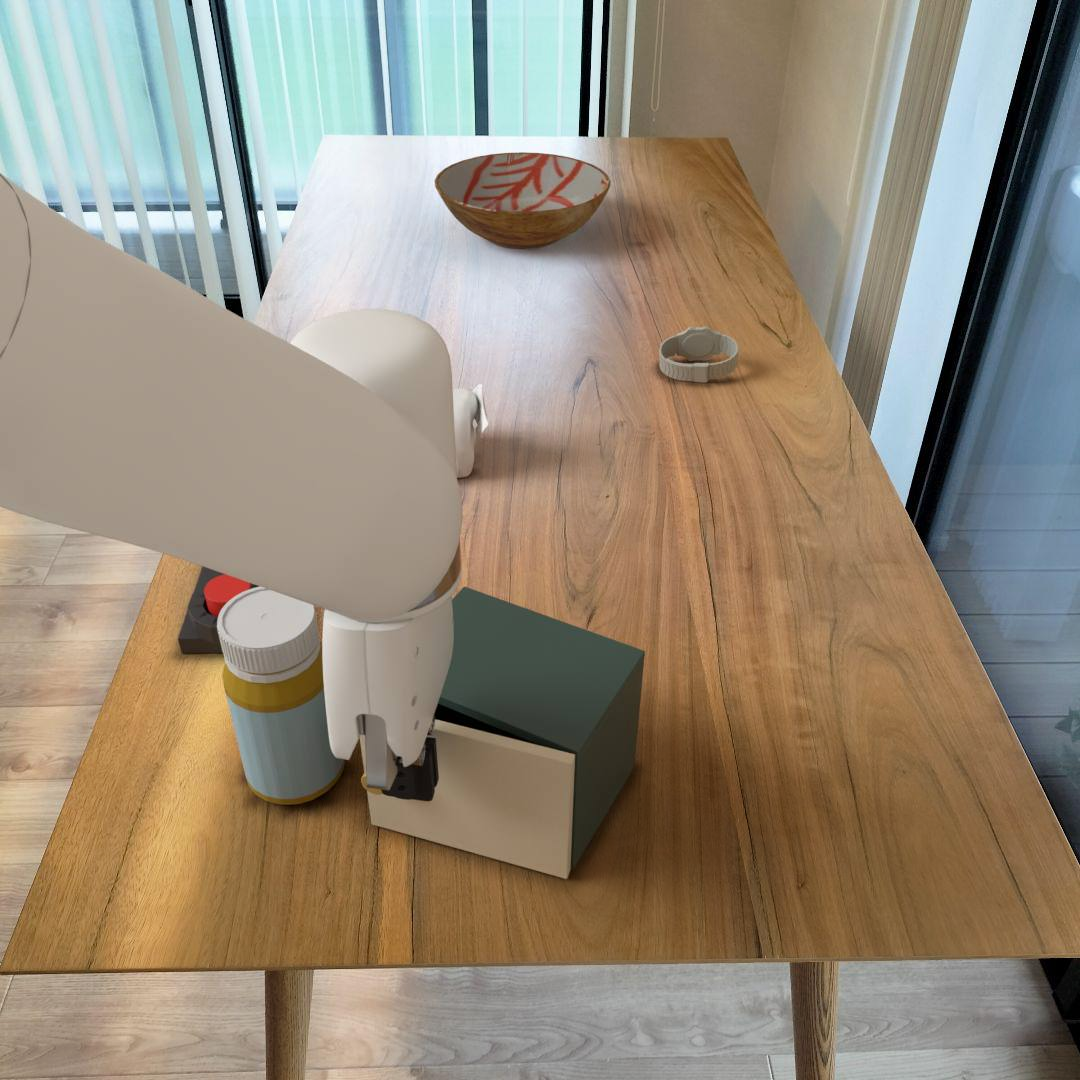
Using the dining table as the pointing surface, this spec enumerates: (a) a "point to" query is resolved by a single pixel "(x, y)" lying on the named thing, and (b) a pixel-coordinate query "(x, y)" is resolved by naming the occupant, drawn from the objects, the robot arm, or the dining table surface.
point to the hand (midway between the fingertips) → (410, 788)
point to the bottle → (277, 695)
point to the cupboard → (547, 695)
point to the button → (223, 592)
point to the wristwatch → (698, 354)
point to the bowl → (522, 196)
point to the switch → (201, 620)
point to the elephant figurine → (467, 425)
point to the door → (490, 800)
